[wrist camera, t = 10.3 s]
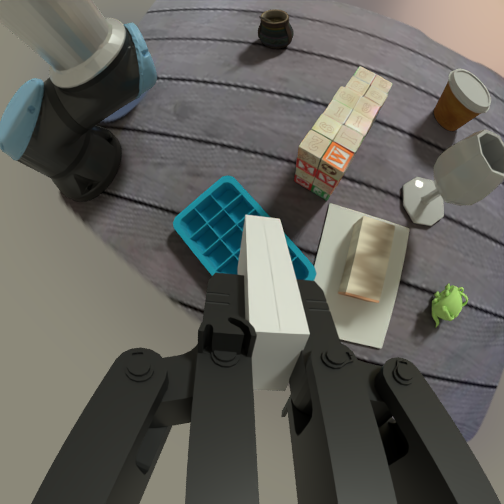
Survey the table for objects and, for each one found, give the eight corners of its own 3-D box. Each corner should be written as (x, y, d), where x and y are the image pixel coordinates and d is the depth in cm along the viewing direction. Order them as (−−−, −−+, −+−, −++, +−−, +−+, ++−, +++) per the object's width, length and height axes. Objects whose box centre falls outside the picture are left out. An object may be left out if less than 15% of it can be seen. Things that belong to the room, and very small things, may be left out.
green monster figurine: (434, 327, 40) (452, 331, 34) (420, 304, 40) (437, 305, 35) (457, 303, 40) (476, 304, 34) (443, 279, 41) (461, 278, 35)
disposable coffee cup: (470, 133, 43) (500, 106, 31) (443, 142, 43) (474, 112, 31) (447, 97, 44) (471, 66, 32) (418, 102, 45) (442, 67, 33)
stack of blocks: (349, 96, 46) (363, 53, 34) (379, 113, 45) (399, 72, 33) (293, 181, 45) (297, 145, 33) (327, 202, 44) (343, 172, 32)
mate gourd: (299, 39, 49) (301, 6, 39) (281, 57, 48) (280, 23, 38) (270, 29, 50) (268, -3, 40) (251, 46, 49) (247, 13, 39)
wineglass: (447, 222, 42) (527, 186, 21) (408, 231, 42) (486, 193, 21) (433, 175, 43) (500, 120, 22) (394, 181, 43) (456, 117, 22)
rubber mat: (296, 327, 42) (296, 328, 41) (329, 203, 44) (329, 203, 43) (380, 348, 40) (381, 348, 40) (408, 229, 42) (409, 228, 42)
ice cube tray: (231, 178, 46) (228, 171, 43) (317, 275, 42) (320, 274, 40) (176, 226, 45) (169, 222, 42) (258, 326, 42) (257, 329, 39)
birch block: (345, 294, 37) (363, 215, 38) (337, 293, 41) (354, 223, 43) (378, 303, 36) (395, 225, 37) (367, 301, 41) (383, 232, 42)
